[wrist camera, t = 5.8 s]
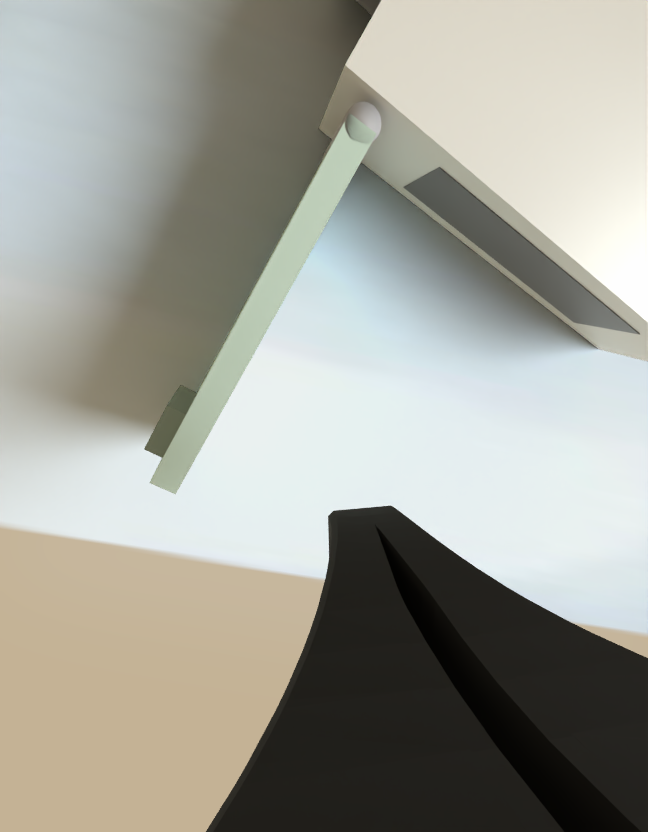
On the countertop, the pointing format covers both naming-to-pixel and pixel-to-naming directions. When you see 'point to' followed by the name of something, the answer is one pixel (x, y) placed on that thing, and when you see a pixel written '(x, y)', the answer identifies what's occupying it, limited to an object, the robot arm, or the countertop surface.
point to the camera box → (521, 142)
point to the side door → (261, 302)
